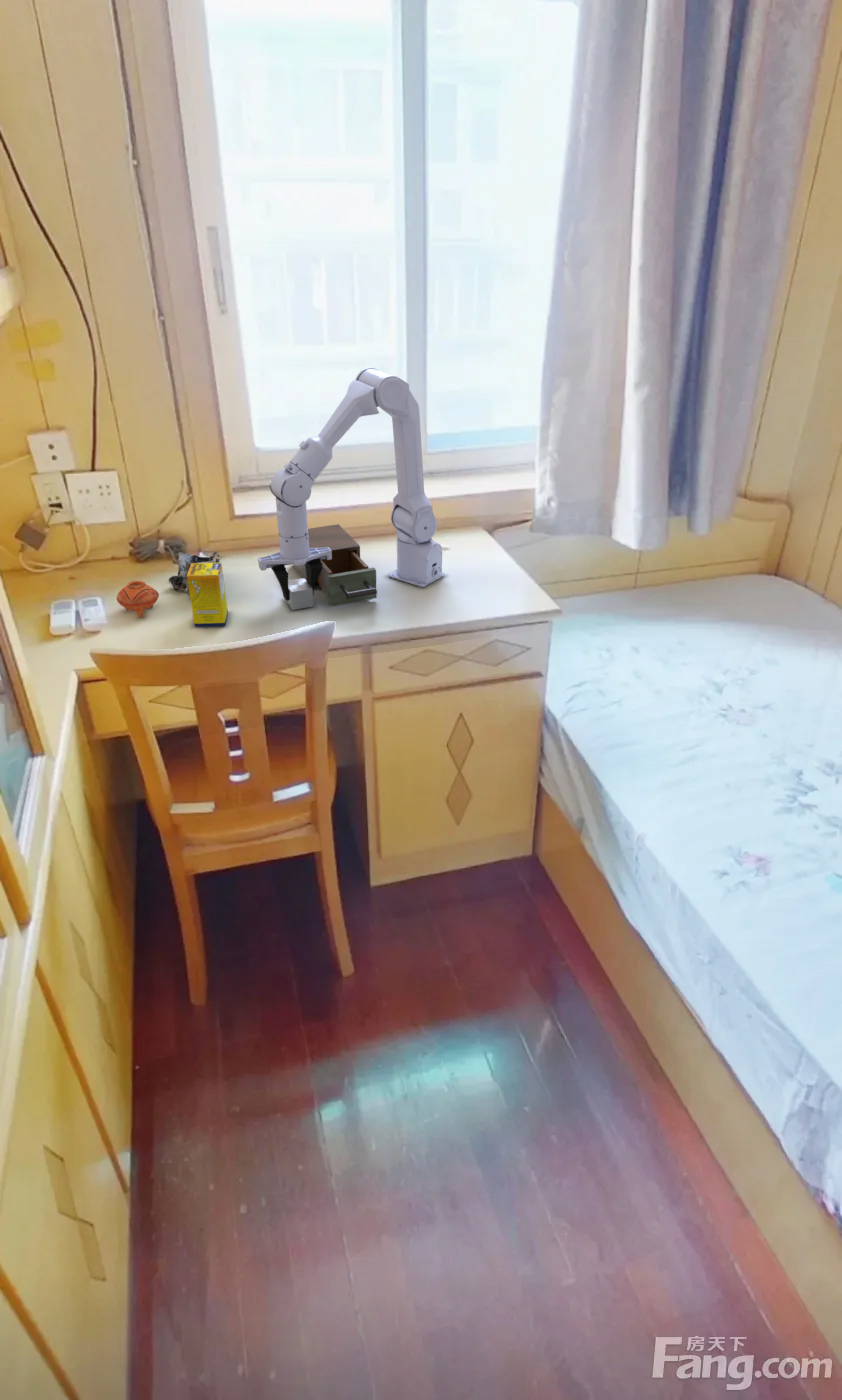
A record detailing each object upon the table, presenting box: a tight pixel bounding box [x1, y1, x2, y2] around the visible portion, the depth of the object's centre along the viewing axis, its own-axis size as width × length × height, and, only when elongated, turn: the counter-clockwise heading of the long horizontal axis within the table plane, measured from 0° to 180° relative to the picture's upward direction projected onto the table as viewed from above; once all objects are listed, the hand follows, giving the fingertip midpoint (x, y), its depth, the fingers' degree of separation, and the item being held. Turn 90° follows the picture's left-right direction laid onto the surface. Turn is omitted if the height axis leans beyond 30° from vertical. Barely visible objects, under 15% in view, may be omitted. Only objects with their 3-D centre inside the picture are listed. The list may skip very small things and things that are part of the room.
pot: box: [116, 580, 160, 619], centre depth 164 cm, size 8×8×7 cm
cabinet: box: [292, 523, 361, 590], centre depth 180 cm, size 14×11×8 cm
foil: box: [168, 551, 222, 597], centre depth 173 cm, size 12×11×15 cm
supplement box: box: [187, 562, 229, 628], centre depth 160 cm, size 6×6×11 cm
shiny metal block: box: [285, 577, 315, 611], centre depth 168 cm, size 6×4×4 cm
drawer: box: [317, 550, 378, 607], centre depth 169 cm, size 18×10×6 cm, turn 24°
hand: (298, 596), depth 169 cm, fingers closed on shiny metal block, 4 cm apart
